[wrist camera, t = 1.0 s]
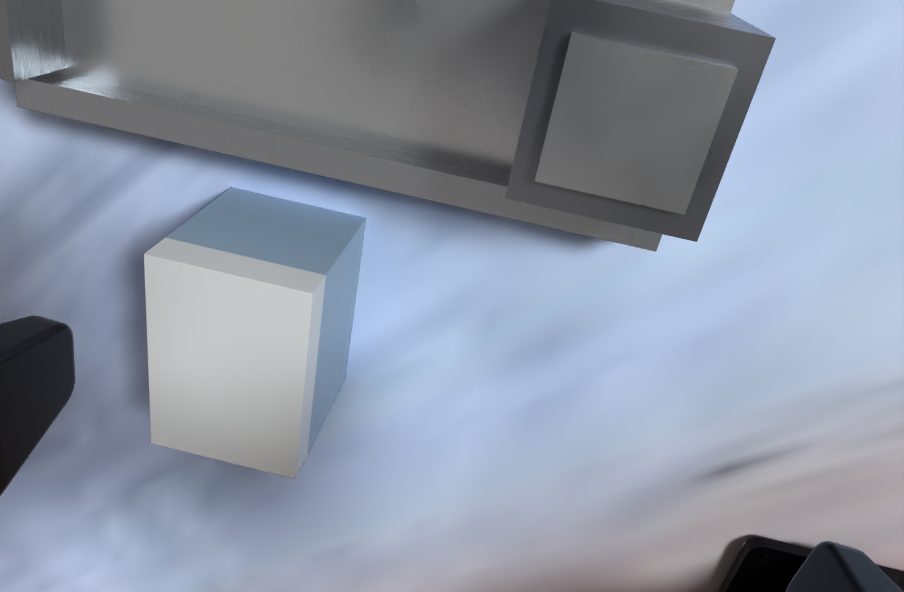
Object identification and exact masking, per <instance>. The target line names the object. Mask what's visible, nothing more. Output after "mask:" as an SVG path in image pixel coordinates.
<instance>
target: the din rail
mask: <svg viewBox="0 0 904 592" xmlns="http://www.w3.org/2000/svg"><path fill="white" fill-rule="evenodd" d="M734 1H735V0H0V79H3V80H7V81H12V82H15V90H16V98H17V106H18V107H21V108H26V109H30V110H35V111H39V112H43V113H48V114H52V115H57V116H61V117H65V118H70V119H74V120H79V121H83V122H88V123H92V124H96V125H101V126H105V127H110V128H114V129H118V130H123V131H127V132H132V133H136V134H140V135H145V136H149V137H154V138H158V139H162V140H167V141H171V142H176V143H180V144H184V145H189V146H193V147H198V148H202V149H206V150H211V151H215V152H220V153H224V154H228V155H233V156H237V157H242V158H246V159H250V160H255V161H259V162H264V163H268V164H273V165H277V166H281V167H286V168H290V169H295V170H299V171H303V172H308V173H312V174H317V175H321V176H325V177H330V178H334V179H339V180H343V181H347V182H352V183H356V184H361V185H365V186H369V187H374V188H378V189H383V190H387V191H391V192H396V193H400V194H405V195H409V196H413V197H418V198H422V199H427V200H431V201H436V202H440V203H444V204H449V205H453V206H458V207H462V208H466V209H471V210H475V211H480V212H484V213H488V214H493V215H497V216H502V217H506V218H510V219H515V220H519V221H524V222H528V223H532V224H537V225H541V226H546V227H550V228H554V229H559V230H563V231H568V232H572V233H576V234H581V235H585V236H590V237H594V238H599V239H603V240H607V241H612V242H616V243H621V244H625V245H629V246H634V247H638V248H643V249H647V250H651V251H656V250H657V247H658V245H659V242H660V239H661V236H662V234H664V235H669V236H673V237H678V238H682V239H687V240H691V241H695V242H697V240H698V238H699V235H700V232H701V230H702V227H703V225H704V222H705V220H706V217H707V214H708V212H709V209H710V207H711V204H712V201H713V199H714V196H715V194H716V191H717V189H718V186H719V183H720V181H721V178H722V176H723V173H724V171H725V168H726V165H727V163H728V160H729V158H730V155H731V152H732V150H733V147H734V145H735V142H736V140H737V137H738V134H739V132H740V129H741V127H742V124H743V121H744V119H745V116H746V114H747V111H748V109H749V106H750V103H751V101H752V98H753V96H754V93H755V91H756V88H757V85H758V83H759V80H760V78H761V75H762V72H763V70H764V67H765V65H766V62H767V60H768V57H769V54H770V52H771V49H772V47H773V44H774V42H775V39H776V38H775V37H773V36H771V35H769V34H767V33H766V32H764V31H762V30H760V29H758V28H756V27H755V26H753V25H751V24H749V23H747V22H746V21H744V20H742V19H740V18H738V17H736V16H735V15H733V14H731V10H732V7H733V4H734Z"/></svg>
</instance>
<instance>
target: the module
mask: <svg viewBox="0 0 904 592" xmlns="http://www.w3.org/2000/svg"><path fill="white" fill-rule="evenodd" d="M365 224H366V218H364V217H359V216H355V215H351V214H346V213H342V212H338V211H333V210H329V209H325V208H320V207H316V206H311V205H307V204H303V203H298V202H294V201H290V200H285V199H281V198H277V197H272V196H268V195H263V194H259V193H255V192H250V191H246V190H242V189H237V188H233V187H230V188H229V189H228V190H227V191H225V192H224V193H223V194H221V195H220V196H219V197H217V198H216V199H215V200H214V201H212V202H211V203H210V204H208V205H207V206H206V207H204V208H203V209H202V210H200V211H199V212H198V213H197V214H195V215H194V216H193V217H191V218H190V219H189V220H187V221H186V222H185V223H183V224H182V225H181V226H180V227H178V228H177V229H176V230H174V231H173V232H172V233H170V234H169V235H168V236H167V237H165V238H164V239H163V240H161V241H160V242H159V243H157V244H156V245H155V246H153V247H152V248H151V249H150V250H148V251H147V252H146V253H144V269H145V295H146V320H147V346H148V371H149V397H150V423H151V443H152V444H156V445H160V446H164V447H168V448H172V449H176V450H180V451H184V452H188V453H192V454H196V455H200V456H204V457H208V458H212V459H216V460H220V461H224V462H228V463H232V464H237V465H241V466H245V467H249V468H253V469H257V470H261V471H265V472H269V473H273V474H277V475H281V476H285V477H289V478H293V479H296V477H297V475H298V473H299V471H300V469H301V467H302V465H303V463H304V461H305V459H306V457H307V455H308V453H309V451H310V449H311V447H312V445H313V443H314V441H315V439H316V437H317V435H318V433H319V431H320V429H321V427H322V425H323V423H324V421H325V419H326V417H327V415H328V413H329V411H330V409H331V407H332V405H333V403H334V401H335V399H336V397H337V395H338V393H339V391H340V389H341V387H342V385H343V383H344V381H345V377H346V370H347V362H348V354H349V347H350V339H351V331H352V324H353V316H354V308H355V301H356V293H357V285H358V277H359V270H360V262H361V254H362V247H363V239H364V231H365Z"/></svg>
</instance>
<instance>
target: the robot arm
mask: <svg viewBox="0 0 904 592" xmlns="http://www.w3.org/2000/svg"><path fill="white" fill-rule="evenodd" d="M74 384H75V364H74V341H73V333H72V331H71V328H70V327H69V326H68V325H66V324H64V323H61V322H58V321H54V320H51V319H47V318H44V317H40V316H29V317H25V318H21V319H17V320H13V321H10V322H6V323H2V324H0V496H1V494H2V493H3V492H4V490H5V489H6V488H7V486H8V485H9V484H10V482H11V481H12V479H13V478H14V476H15V475H16V474H17V472H18V471H19V469H20V468H21V467H22V465H23V464H24V462H25V461H26V460H27V458H28V457H29V455H30V454H31V452H32V451H33V450H34V448H35V447H36V445H37V444H38V443H39V441H40V440H41V438H42V437H43V435H44V434H45V433H46V431H47V430H48V428H49V427H50V426H51V424H52V423H53V421H54V420H55V419H56V417H57V416H58V414H59V413H60V411H61V410H62V409H63V407H64V406H65V404H66V403H67V401H68V400H69V398H70V396H71V394H72V392H73V389H74ZM759 552H763V553H760V554H756V553H759ZM718 592H904V572H900V571H896V570H892V569H888V568H884V567H879V566H877V565H876V564H875V563H874V562H873V561H872V560H871V559H870V558H869V557H868V556H867V555H866V554H864V553H863V552H862V551H860V550H858V549H855V548H852V547H848V546H845V545H841V544H838V543H834V542H831V541H823V542H821V543H819V544H818V545H816V547H815V548H814V549H813V550H810V549H806V548H801V547H797V546H793V545H789V544H785V543H781V542H777V541H773V540H769V539H765V538H754V539H751V540H749V541H747V542H746V543H745V544H744V546H743V548H742V550H741V551H740V553H739V555H738V557H737V559H736V560H735V562H734V564H733V566H732V568H731V569H730V571H729V573H728V575H727V577H726V578H725V580H724V582H723V584H722V586H721V588H720V589H719V591H718Z"/></svg>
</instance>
